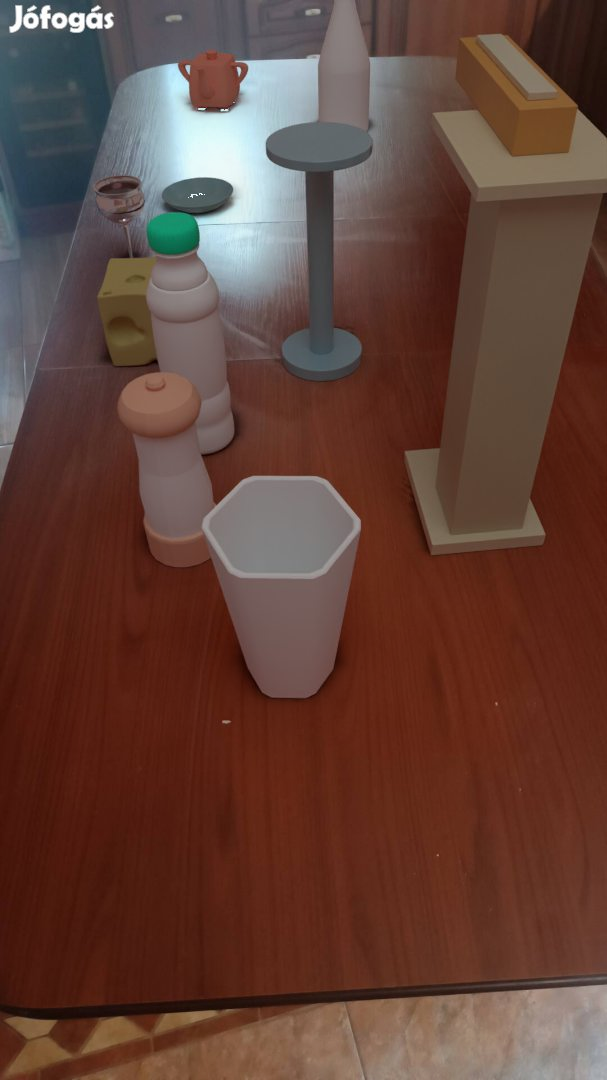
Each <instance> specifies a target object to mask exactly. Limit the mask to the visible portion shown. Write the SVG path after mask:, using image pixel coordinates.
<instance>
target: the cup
mask: <svg viewBox="0 0 607 1080" xmlns="http://www.w3.org/2000/svg"><path fill="white" fill-rule="evenodd" d="M216 505H217V506H216V507H215V508H214V509H213V510H212V511H211V512H210V513H209V514H208V515H207V516H206V517H205V518H204V519H203V522H202V528H201V529H202V532H203V535H204V538H205V541H206V544H207V547H208V550H209V553H210V556H211V558H210V559H211V561H212V564H213V567H214V571H215V574H216V577H217V579H218V583H219V586H220V589H221V592H222V595H223V598H224V601H225V603H226V607H227V610H228V613H229V616H230V619H231V622H232V625H233V628H234V631H235V634H236V637H237V640H238V643H239V647H240V649H241V652H242V655H243V659H244V662H245V664H246V667H247V670H248V671H249V673H250V674H251V676H252V678H253V680H254V681H255V683H256V685H257V686H258V688H259V690H260V691H261V694H264V695H265V696H268V697H270V698H275V699H307V698H309V697H311V696H313V695H315V694H317V693H318V691H319V690H320V689H321V687H322V685H323V684H324V683H325V682H326V680H327V678H328V677H329V676H330V675H331V673H332V672H333V670H334V667H335V661H336V657H337V652H338V647H339V641H340V636H341V631H342V626H343V621H344V617H345V612H346V606H347V601H348V597H349V596H348V595H349V592H350V586H351V581H352V577H353V571H354V566H355V561H356V557H357V556H356V555H357V551H358V547H359V540H360V535H361V530H362V520H361V519H360V517H359V516H358V515H357V514H356V513H355V511H354V510H353V508H351V506H349V504H348V503H347V501H345V499H344V498H343V497H342V495H340V493H339V492H338V491H337V490H336V489H335V487H334V486H333V485H332V483H331V482H330V481H329V480H328V479H325V478H323V477H320V476H317V475H252V476H249V477H246V478H244V479H242V480H240V481H239V483H238V484H236V486H235V487H234V488H232V489H231V490H230V491H229V493H227V494H226V496H224V497H223V498H222V499H221V500H220V501H219V502H218V503H217V504H216Z"/></svg>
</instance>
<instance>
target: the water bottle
mask: <svg viewBox="0 0 607 1080" xmlns="http://www.w3.org/2000/svg"><path fill="white" fill-rule="evenodd" d="M200 235H201V233H200V229H199V224H198V221H197V219H196V218H195V217H194V216H193V215H191V214H190V213H187V212H179V211H174V212H165V213H162V214H159V215H156V216H154V217H153V218H151V219H150V220H149V221H148V223H147V225H146V238H147V239H146V240H147V243H148V246H149V249H150V252H151V253H152V254H153V255H154V256H155V257H156V262H155V264H154V266H153V269H152V273H151V278H150V281H149V284H148V287H147V291H146V301H147V305H148V308H149V310H150V312H151V320H152V329H153V336H154V343H155V348H156V354H157V359H158V360H157V363H158V368H159V372H169V373H175V374H178V375H181V376H183V377H185V378H186V379H187V380H188V381H189V382H191V383H192V384H193V385H194V386H195V387H196V389H197V391H198V393H199V395H200V398H201V400H202V403H201V409H200V413H199V416H198V418H197V420H196V421H195V424H196V430H197V436H198V442H199V448H200V453H201V456H202V455H209V454H214V453H217V452H219V451H222V450H223V449H224V448H226V447H227V446H228V445H229V444H230V443H231V442H232V440H233V439H234V436H235V422H234V416H233V412H232V408H231V403H232V400H231V397H232V396H231V390H230V385H229V382H228V380H227V377H228V373H227V372H228V369H227V353H226V345H225V336H224V329H223V321H222V316H221V311H220V308H219V307H220V306H219V301H220V291H219V286H218V284H217V282H216V281H215V279H214V277H213V276H212V275H211V273H210V271H209V270H208V268H207V265H206V264H205V263H204V261H203V260H202V258H200V256H199V255H198V250H199V249H200V241H201V236H200Z"/></svg>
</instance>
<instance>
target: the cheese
mask: <svg viewBox="0 0 607 1080" xmlns="http://www.w3.org/2000/svg"><path fill="white" fill-rule="evenodd" d="M155 262H156V256H152V257H151V256H150V257H149V256H148V257H133V258H130V257H127V258H126V257H124V258H123V257H122V258H121V257H120V258H118V257H115V258H113V257H112V258H109V261H108V263H107V266H106V270H105V273H104V274H105V275H104V279H103V282H102V285H101V287H100V289H99V292H98V293H97V297H96V298H97V304H98V312H99V317H100V319H101V324H102V327H103V333H104V338H105V342H106V346H107V349H108V350H107V351H108V352H109V356H110V359H111V362H112V364H113V367H131V366H132V367H133V366H145V365H148V364H151V363H152V362H153V361H158V359H157V354H156V348H155V343H154V336H153V329H152V320H151V312H150V310H149V308H148V305H147V301H146V291H147V287H148V284H149V281H150V278H151V273H152V269H153V266H154V264H155Z"/></svg>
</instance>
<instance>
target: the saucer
mask: <svg viewBox="0 0 607 1080" xmlns="http://www.w3.org/2000/svg"><path fill="white" fill-rule="evenodd" d="M199 193H202V194H203V195H201V194H200V195H199ZM233 193H234V187H233V185H232V184H231V183H230V182H229V181H227V180H224V179H222V178H217V177H205V176H204V177H201V176H199V177H193V178H192V177H191V178H188V179H187V178H186V179H181V180H178V181H175V182H173V183H171V184H170V185H168V186H167V187H165V188H164V189H163V191H162V193H161V199H162V200H163V201H164V202H165V203H166V204H168V205H169V206H170V207H172V208H174V209H176V210H178V211H180V212H182V213H187V214H202V213H208V212H211V211H213V210H215V209H218V208H220V207H221V206H222V205H223V204H225V203H226V202H227V201H228V200H229V199H230V197H231V196H232V195H233ZM191 194H197V195H198V196H196V195H193V198H192V197H190V196H191ZM204 194H205V195H204ZM188 197H189V198H188Z"/></svg>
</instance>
